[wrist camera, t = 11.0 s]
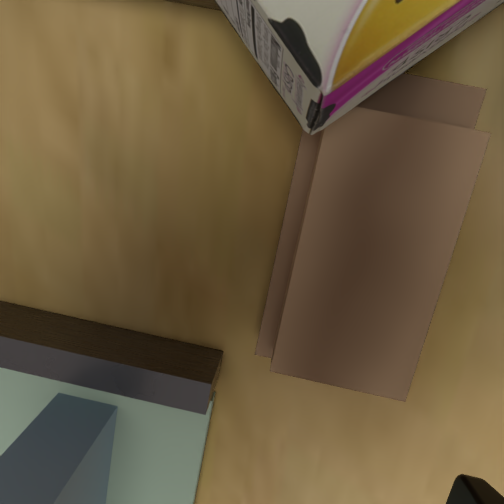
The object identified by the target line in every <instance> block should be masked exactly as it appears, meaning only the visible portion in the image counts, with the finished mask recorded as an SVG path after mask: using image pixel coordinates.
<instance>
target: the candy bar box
mask: <svg viewBox="0 0 504 504" xmlns="http://www.w3.org/2000/svg"><path fill="white" fill-rule="evenodd" d="M214 1H215V2H216V3H217V5H218V6H219V8H220V9H221V11H222V12H223V13H224V15H225V16H226V18H227V19H228V21H229V22H230V24H231V25H232V27H233V28H234V29H235V31H236V32H237V33H238V35H239V36H240V38H241V40H242V41H243V43H244V44H245V45H246V47H247V48H248V50H249V51H250V52H251V54H252V55H253V57H254V58H255V60H256V61H257V63H258V65H259V66H260V68H261V69H262V71H263V72H264V73H265V75H266V76H267V78H268V79H269V81H270V82H271V84H272V86H273V87H274V88H275V90H276V91H277V92H278V94H279V95H280V96H281V98H282V99H283V100H284V102H285V103H286V104H287V106H288V107H289V109H290V111H291V112H292V113H293V115H294V116H295V118H296V119H297V121H298V122H299V124H300V125H301V127H302V128H303V130H304V131H306V132H307V133H308V134H310V135H313V134H315V133H316V132H318V131H321V130H322V129H324V128H325V127H327V126H328V125H330V124H331V123H333V122H334V121H336V120H337V119H338V118H340V117H341V116H343V115H344V114H346V113H347V112H349V111H350V110H352V109H353V108H354V107H356V106H357V105H359V104H360V103H361V102H363V101H364V100H366V99H367V98H368V97H370V96H371V95H373V94H374V93H375V92H377V91H378V90H380V89H381V88H382V87H384V86H385V85H387V84H388V83H390V82H391V81H392V80H394V79H395V78H397V77H398V76H400V75H401V74H402V73H404V72H405V71H406V70H408V69H409V68H411V67H412V66H413V65H415V64H416V63H418V62H419V61H420V60H422V59H423V58H425V57H426V56H428V55H429V54H430V53H432V52H433V51H435V50H436V49H438V48H439V47H440V46H442V45H443V44H445V43H446V42H448V41H449V40H450V39H452V38H453V37H455V36H456V35H458V34H459V33H460V32H462V31H463V30H465V29H466V28H468V27H469V26H470V25H472V24H473V23H475V22H476V21H478V20H479V19H481V18H482V17H483V16H485V15H486V14H488V13H489V12H491V11H492V10H493V9H495V8H496V7H498V6H499V5H501V4H502V3H503V2H504V0H214Z"/></svg>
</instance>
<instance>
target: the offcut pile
mask: <svg viewBox="0 0 504 504" xmlns="http://www.w3.org/2000/svg"><path fill="white" fill-rule="evenodd" d="M486 90H487V89H484V88H479V87H474V86H468V85H463V84H458V83H452V82H447V81H442V80H437V79H431V78H426V77H421V76H416V75H410V74H405V73H402V74H401V75H400V76H398V77H397V78H395V79H394V80H392V81H391V82H390V83H388V84H387V85H385V86H384V87H382V88H381V89H380V90H378V91H377V92H375V93H374V94H373V95H371V96H370V97H368V98H367V99H366V100H364V101H363V102H361V103H360V104H359V105H357V106H356V107H354V108H353V109H352V110H350V111H349V112H347V113H346V114H344V115H343V116H341V117H340V118H338V119H337V120H336V121H334V122H333V123H331V124H330V125H328V126H327V127H325V128H324V129H322V130H321V131H318V132H316V133H315V134H313V135H310V134H308V133H307V132H306V131H304V130H303V131H302V135H301V140H300V145H299V149H298V154H297V159H296V163H295V168H294V173H293V178H292V182H291V187H290V192H289V196H288V201H287V206H286V211H285V215H284V220H283V225H282V229H281V234H280V239H279V243H278V248H277V253H276V258H275V262H274V267H273V272H272V276H271V281H270V286H269V290H268V295H267V300H266V305H265V309H264V314H263V319H262V323H261V328H260V333H259V337H258V342H257V347H256V352H255V355H259V356H264V357H268V358H272V361H271V368H270V371H271V372H275V373H280V374H284V375H289V376H293V377H298V378H302V379H306V380H311V381H315V382H320V383H324V384H329V385H333V386H337V387H342V388H346V389H351V390H355V391H360V392H364V393H368V394H373V395H377V396H382V397H386V398H391V399H395V400H399V401H404V402H405V401H406V398H407V395H408V392H409V389H410V385H411V382H412V379H413V376H414V373H415V370H416V367H417V364H418V360H419V357H420V354H421V351H422V348H423V345H424V342H425V339H426V335H427V332H428V329H429V326H430V323H431V320H432V317H433V314H434V311H435V307H436V304H437V301H438V298H439V295H440V292H441V289H442V286H443V282H444V279H445V276H446V273H447V270H448V267H449V264H450V261H451V258H452V254H453V251H454V248H455V245H456V242H457V239H458V236H459V233H460V229H461V226H462V223H463V220H464V217H465V214H466V211H467V208H468V204H469V201H470V198H471V195H472V192H473V189H474V186H475V183H476V180H477V176H478V173H479V170H480V167H481V164H482V161H483V158H484V155H485V151H486V148H487V145H488V142H489V139H490V136H491V133H489V132H484V131H479V130H474V129H475V125H476V122H477V119H478V116H479V112H480V109H481V106H482V103H483V100H484V96H485V93H486Z"/></svg>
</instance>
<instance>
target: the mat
mask: <svg viewBox="0 0 504 504" xmlns="http://www.w3.org/2000/svg"><path fill="white" fill-rule="evenodd" d="M58 393H63V394H67V395H71V396H76V397H80V398H84V399H89V400H93V401H97V402H102V403H106V404H110V405H115V406H118V408H117V416H116V424H115V432H114V440H113V448H112V456H111V464H110V472H109V481H108V489H107V497H106V504H194V501H195V496H196V491H197V486H198V481H199V475H200V470H201V465H202V460H203V454H204V449H205V444H206V439H207V434H208V428H209V423H210V418H211V413H212V408H213V402H214V397H215V392H213V395H212V398H211V401H210V404H209V407H208V410H207V413H206V415H203V414H199V413H194V412H190V411H186V410H181V409H177V408H173V407H168V406H164V405H160V404H156V403H151V402H147V401H143V400H138V399H134V398H130V397H125V396H121V395H117V394H112V393H108V392H104V391H100V390H95V389H91V388H87V387H82V386H78V385H74V384H69V383H65V382H61V381H57V380H52V379H48V378H44V377H39V376H35V375H31V374H26V373H22V372H18V371H14V370H9V369H5V368H1V367H0V456H1V455H2V454H3V453H4V452H5V451H6V450H7V448H8V447H9V446H10V445H11V444H12V443H13V442H14V441H15V440H16V439H17V437H18V436H19V435H20V434H21V433H22V432H23V431H24V430H25V429H26V428H27V427H28V425H29V424H30V423H31V422H32V421H33V420H34V419H35V418H36V417H37V416H38V414H39V413H40V412H41V411H42V410H43V409H44V408H45V407H46V406H47V405H48V404H49V402H50V401H51V400H52V399H53V398H54V397H55V396H56V395H57V394H58Z"/></svg>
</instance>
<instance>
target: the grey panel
mask: <svg viewBox="0 0 504 504" xmlns="http://www.w3.org/2000/svg"><path fill="white" fill-rule="evenodd" d="M117 408H118V406H115V405H110V404H106V403H102V402H97V401H93V400H89V399H84V398H80V397H76V396H71V395H67V394H63V393H58V394H57V395H56V396H55V397H54V398H53V399H52V400H51V401H50V402H49V404H48V405H47V406H46V407H45V408H44V409H43V410H42V411H41V412H40V413H39V414H38V416H37V417H36V418H35V419H34V420H33V421H32V422H31V423H30V424H29V425H28V427H27V428H26V429H25V430H24V431H23V432H22V433H21V434H20V435H19V436H18V437H17V439H16V440H15V441H14V442H13V443H12V444H11V445H10V446H9V447H8V448H7V450H6V451H5V452H4V453H3V454H2V455H1V456H0V504H106V497H107V489H108V481H109V472H110V464H111V456H112V448H113V440H114V432H115V424H116V416H117Z"/></svg>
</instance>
